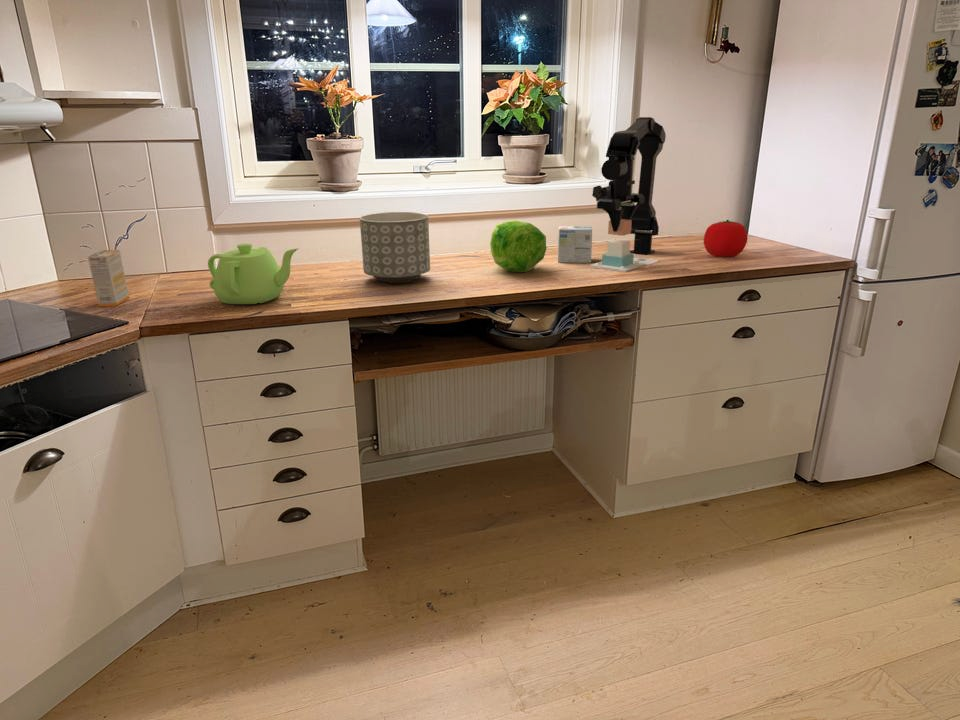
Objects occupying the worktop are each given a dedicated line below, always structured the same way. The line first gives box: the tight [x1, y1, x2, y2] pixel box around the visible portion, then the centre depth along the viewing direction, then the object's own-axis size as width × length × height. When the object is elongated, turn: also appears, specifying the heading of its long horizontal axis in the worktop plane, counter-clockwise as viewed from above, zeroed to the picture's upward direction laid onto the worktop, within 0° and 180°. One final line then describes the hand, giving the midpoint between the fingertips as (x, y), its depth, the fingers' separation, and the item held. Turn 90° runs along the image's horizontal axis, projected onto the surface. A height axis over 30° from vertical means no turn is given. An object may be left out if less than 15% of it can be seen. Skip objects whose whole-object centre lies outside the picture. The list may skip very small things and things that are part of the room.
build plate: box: [589, 253, 645, 273], centre depth 209 cm, size 12×12×4 cm
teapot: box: [207, 243, 300, 305], centre depth 176 cm, size 19×20×14 cm
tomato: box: [703, 219, 748, 258], centre depth 220 cm, size 13×14×12 cm
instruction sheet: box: [633, 257, 660, 266], centre depth 216 cm, size 7×10×1 cm
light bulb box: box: [557, 225, 593, 264], centre depth 216 cm, size 11×7×11 cm, turn 84°
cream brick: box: [606, 239, 631, 257], centre depth 207 cm, size 5×5×4 cm
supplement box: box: [87, 249, 130, 307], centre depth 174 cm, size 8×5×13 cm, turn 5°
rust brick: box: [607, 219, 632, 236], centre depth 205 cm, size 5×5×4 cm
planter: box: [359, 211, 431, 284], centre depth 193 cm, size 19×19×18 cm
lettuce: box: [490, 220, 548, 273], centre depth 204 cm, size 17×20×15 cm
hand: (619, 230), depth 206 cm, fingers closed on rust brick, 5 cm apart
